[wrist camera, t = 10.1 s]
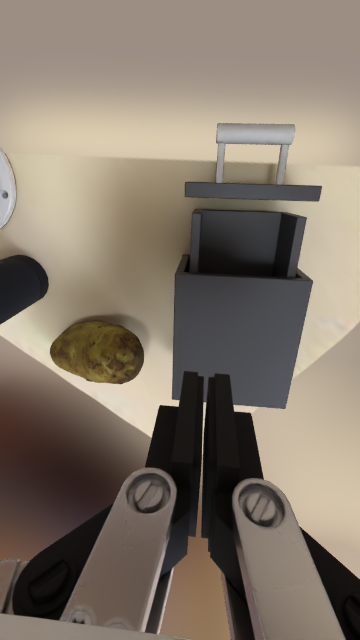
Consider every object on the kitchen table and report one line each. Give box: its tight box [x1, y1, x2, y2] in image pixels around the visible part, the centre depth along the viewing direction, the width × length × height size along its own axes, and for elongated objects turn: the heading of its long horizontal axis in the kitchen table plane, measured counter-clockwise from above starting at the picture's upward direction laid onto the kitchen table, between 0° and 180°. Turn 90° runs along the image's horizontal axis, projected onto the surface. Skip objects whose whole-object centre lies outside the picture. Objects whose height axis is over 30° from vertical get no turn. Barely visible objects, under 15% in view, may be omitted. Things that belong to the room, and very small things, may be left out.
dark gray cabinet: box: [172, 255, 313, 409], centre depth 34 cm, size 15×13×9 cm
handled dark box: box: [185, 123, 322, 278], centre depth 30 cm, size 18×11×7 cm, turn 178°
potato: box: [50, 321, 144, 384], centre depth 38 cm, size 8×13×8 cm, turn 79°
